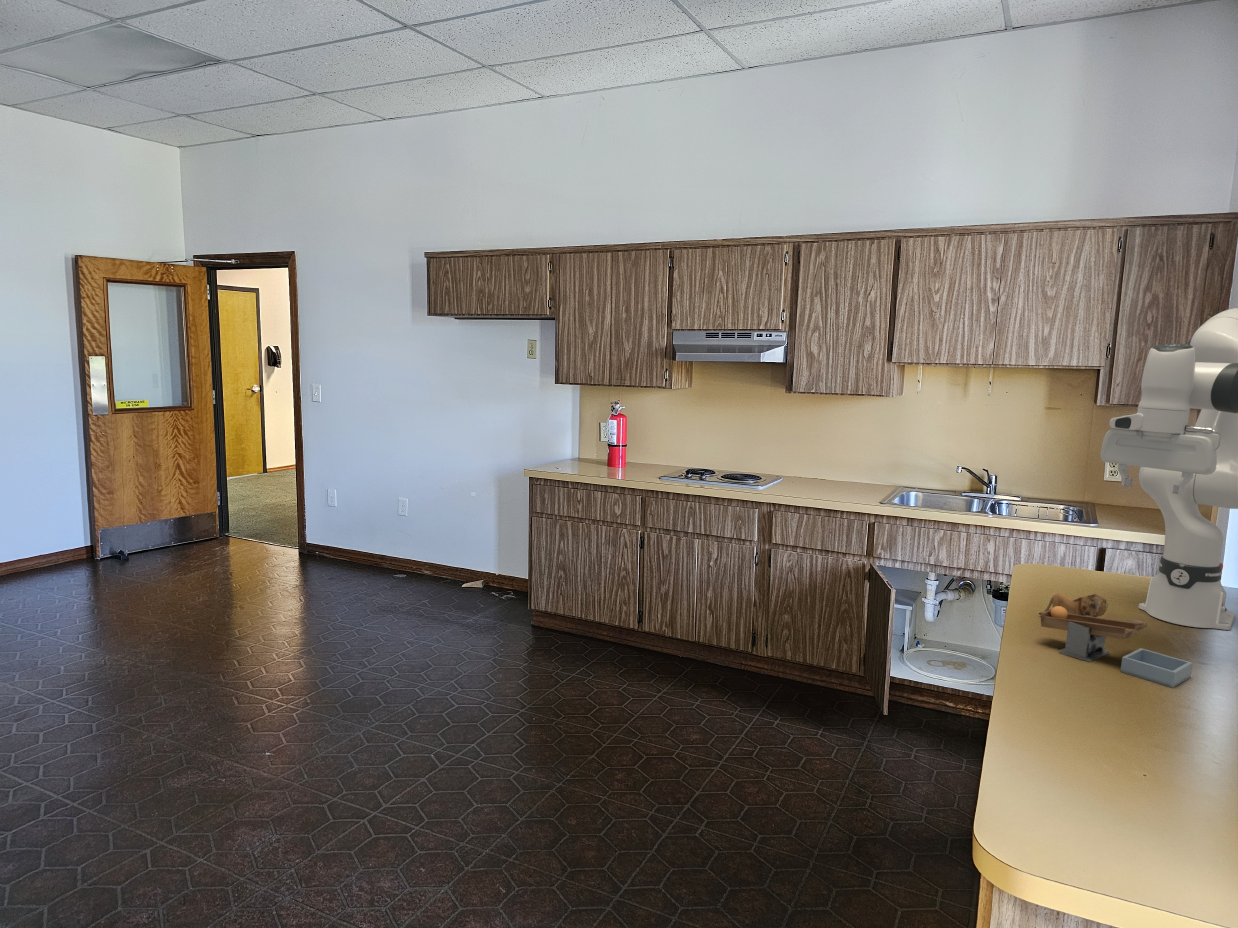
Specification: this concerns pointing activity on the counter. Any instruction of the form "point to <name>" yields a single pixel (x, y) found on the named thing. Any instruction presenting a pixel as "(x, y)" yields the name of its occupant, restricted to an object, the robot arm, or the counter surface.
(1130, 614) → the counter surface
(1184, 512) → the robot arm
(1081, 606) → the lion figurine
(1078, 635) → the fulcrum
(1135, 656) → the tray
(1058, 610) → the ball
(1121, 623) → the lever
